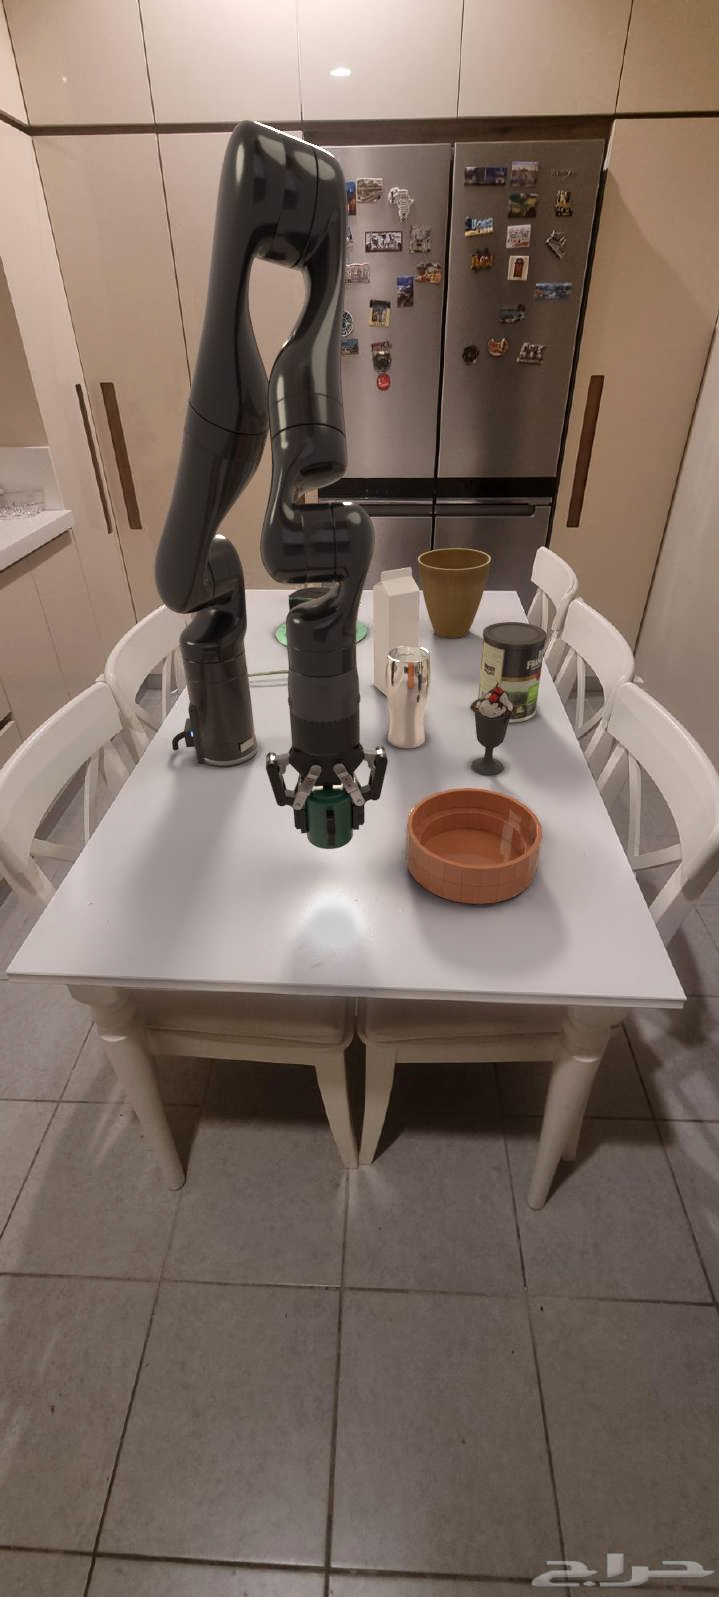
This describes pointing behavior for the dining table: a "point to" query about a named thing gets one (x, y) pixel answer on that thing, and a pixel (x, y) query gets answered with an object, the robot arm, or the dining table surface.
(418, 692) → the beer glass
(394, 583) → the milk
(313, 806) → the kettle
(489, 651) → the coffee can
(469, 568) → the plant pot
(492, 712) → the sundae
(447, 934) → the dining table surface
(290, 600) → the chocolate cake
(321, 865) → the dining table surface
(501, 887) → the bowl
